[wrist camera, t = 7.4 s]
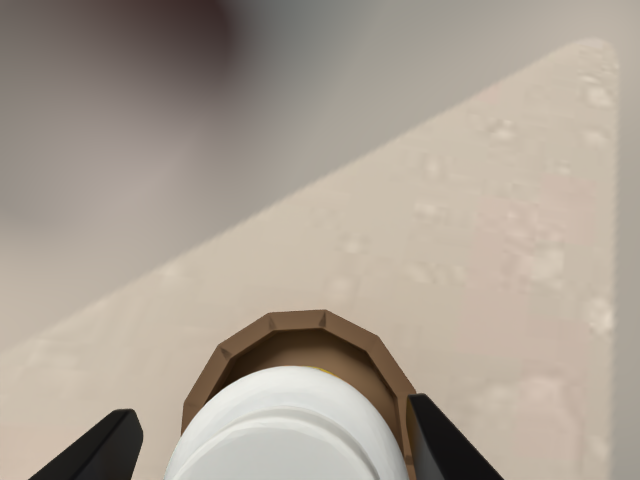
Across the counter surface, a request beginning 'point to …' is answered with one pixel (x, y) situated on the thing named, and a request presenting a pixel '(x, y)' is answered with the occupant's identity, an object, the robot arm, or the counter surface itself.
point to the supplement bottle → (288, 432)
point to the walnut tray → (311, 364)
